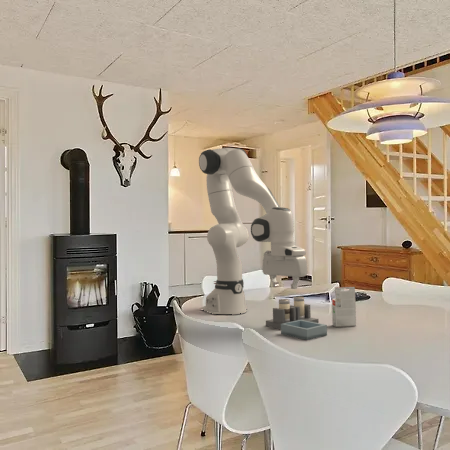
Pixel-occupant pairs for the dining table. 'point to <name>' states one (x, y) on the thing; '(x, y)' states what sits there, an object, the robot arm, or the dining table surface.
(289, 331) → the parts tray
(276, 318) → the fuse holder
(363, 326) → the dining table surface
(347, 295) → the ink box
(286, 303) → the cylinder
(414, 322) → the dining table surface
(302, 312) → the cylinder
